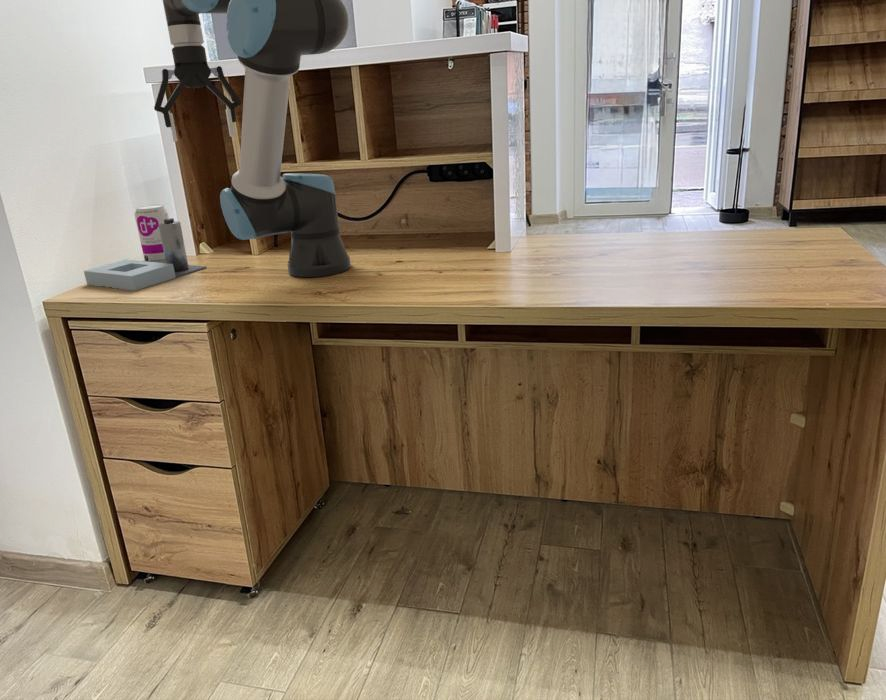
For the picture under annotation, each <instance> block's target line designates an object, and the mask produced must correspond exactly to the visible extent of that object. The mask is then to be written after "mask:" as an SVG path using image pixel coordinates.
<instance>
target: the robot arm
mask: <svg viewBox="0 0 886 700" xmlns="http://www.w3.org/2000/svg"><path fill="white" fill-rule="evenodd" d="M162 4H163V9H164V14H165V21H166V24H167V25H166V26H167V31H168V36H169V41H170V45H172V46H173V47H172V49H171V54H172V58H173V64H174V69H167V68H163V69H162V70H161V78H162V79H161V83H160V86H159V90H158V93H157V97H156V100H155V103H154V106H153V109H154V111H156V112H160V113H161V114H162V115H163V120H164V125H165V126H166V128H170V131H171V135H172V140H173V141H172V142H178V136H177V131H176V125H175V120H174V114H173V113H172V112H170V110H171V109H172V107H173V105H174V104H175V102H177V99H178V97H179V96H180V94H181V92H182V91H183V89H185V88H187V89H192V88H203V87H206V88H207V89H209V91H211V92H212V93H213V94H214V95H215V96H216V97H217V99H219V100H220V101H221V102H222V103H223V104H224V105H225V106H227V109H224V110H225V115H226V120H227V121H226V122H227V126H228V127H227V128H228V133H229V137H231V138H232V137H236V135H235V131H234V123H236V122H237V117H236V110H235V109H236V108H237V107H240V106H241V105H242V120H241V121H242V122H241V134H240V135H241V136H240V154H239V170H237V171H236V172H234V173H233V174H232V177H231V183H230V188H229V187H225V188H224V189H222V190H221V191H220V193H219V194H220V195H219V201H220V208H221V210H222V215H223V217H224V221H225V223H226V225H227V227H228V228H229V230H230V232H231V234H232V235H233V236H234V237H235V238H236V239H238V240H242V241H244V240H245V241H246V240H257V239H259V238H263V237H269V236H274V235H275V236H276V235H280V234H285V233H286V234H287V233H290V238H291V240H290V241H291V243H290V249H289V256H288V261H287V270H288V274H289V275H290V276H293V277H298V278H316V277H317V278H318V277H319V278H320V277H325V276H326V277H327V276H332V275H336V274H337V275H338V274H340V273H343V272H345V271H348V270H349V269H351V266H352V265H351V259H350V255H349V254H348V252H347V249H346V248H345V245H344V242H343V240H342V237H341V233H340V224H339V216H338V215H339V214H338V206H337V197H336V195H337V192H336V190H335V184H334V183H335V182H334V180H333V178H332V177H331V176H330V175H327V174H319V173H318V174H317V173H299V172H298V173H297V172H295V173H294V172H293V173H289V172H288V173H283V174H282V176H281V171H282V160H283V152H284V142H285V131H286V125H287V124H286V123H287V122H286V121H287V112H288V102H289V92H290V83H291V77H292V76H293V75H294V74H297V73H298V72H299V70H300V64H301V63H300V62H301V58H302V56H306V55H307V56H309V55H310V56H311V55H312V56H313V55H321V54H325V53H329V52H330V51H333V50H334V49H336V47H338V46H339V45H340V44H341V43H342V42H343V40H344V39H345V36H346V35H347V32H348V27H349V15H348V10H347V8H346V6H345V4H344V2H343V1H342V0H162ZM200 14H226V23H225V24H226V31H227V40H228V44H229V46H230V48H231V51H232V52H233V53H234V54H235V55H236V56H237V60H238V63H240V64H241V65H242V66H243V68H244V82H243V83H244V85H243V100H242V101H243V102H242V101H241V99H240V98H239V96H238V95H237V93H236V92H235V91H234V89H233V87H232V86H231V84H230V82H229V81H228V80H227V78H226V77H225V76H224V75H225V74H224V71H223V67H222V66H216V67H211V68H210V66H209V64H208V59H207V53H206V47H205V46H204V45H203V44H204V42H205V40H204V35H203V29H202V24H201V19H200V18H201V17H200ZM211 74H213V76H214V77H216V78H218V80H219V82H220V83H221V85H222V86H223V88H224V89H225V91H226V93H227V94H228V96H229V97H230V99H231V100H232V101H231V100H230V99H229V98H227V96H225V94H223V93H222V92H221V91H220V90H219V89H218V87H216V86H215V84H213V82H211V81H210V79H209V78H210V76H211ZM173 76H175V78H176V79H178V81H179V82H178V84H177V86H176V87H175V89H174V90H173V92H172V94H171V95H170V97H169V99H168V100H167V102H166V104H165V105H164V107H163V106H162V104H163V101H164V97H165V95H166V92H167V88H168V84H169V80H171V79H172V78H173ZM242 103H243V104H242Z"/></svg>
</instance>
